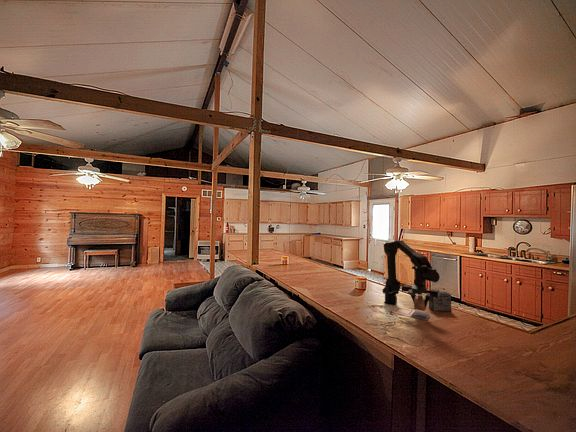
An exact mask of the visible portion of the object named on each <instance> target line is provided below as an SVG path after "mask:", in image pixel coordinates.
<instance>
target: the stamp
mask: <svg viewBox="0 0 576 432" xmlns="http://www.w3.org/2000/svg"><path fill="white" fill-rule="evenodd" d="M413 310H416V311H417V310H418V311H423V312H425V310H427V306H426V307H425V296H424V297H423V294H421V295H419V294H417V295H416V297H415V298H414V302H413Z"/></svg>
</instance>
